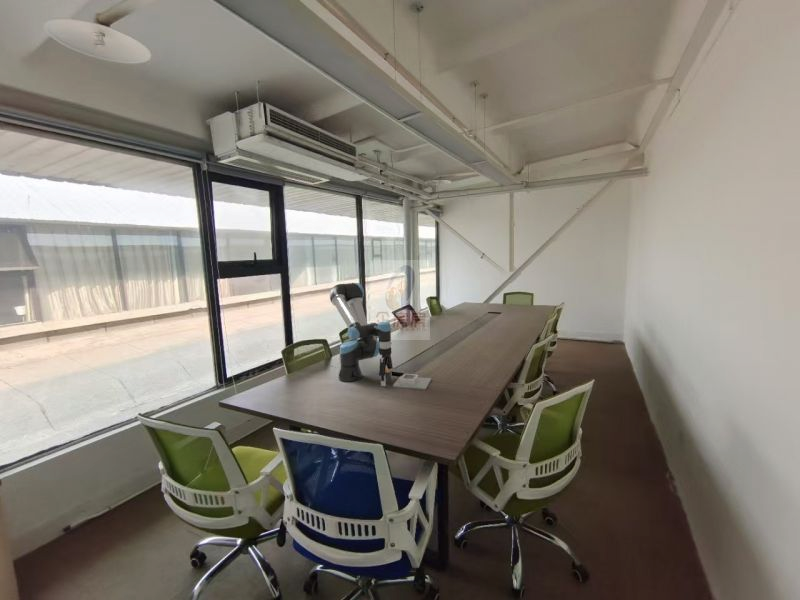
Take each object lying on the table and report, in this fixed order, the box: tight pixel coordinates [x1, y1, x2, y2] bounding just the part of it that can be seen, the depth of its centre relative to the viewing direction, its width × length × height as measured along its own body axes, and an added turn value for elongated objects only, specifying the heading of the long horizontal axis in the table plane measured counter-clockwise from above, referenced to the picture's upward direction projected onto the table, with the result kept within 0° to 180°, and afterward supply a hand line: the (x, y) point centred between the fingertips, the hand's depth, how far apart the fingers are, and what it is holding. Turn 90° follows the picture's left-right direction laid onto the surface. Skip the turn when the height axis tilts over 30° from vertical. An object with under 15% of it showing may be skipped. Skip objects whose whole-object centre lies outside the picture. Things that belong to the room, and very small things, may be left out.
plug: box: [385, 368, 392, 385], centre depth 206 cm, size 5×4×8 cm
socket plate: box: [392, 373, 432, 390], centre depth 203 cm, size 20×16×4 cm
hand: (386, 382), depth 206 cm, fingers open, 11 cm apart
